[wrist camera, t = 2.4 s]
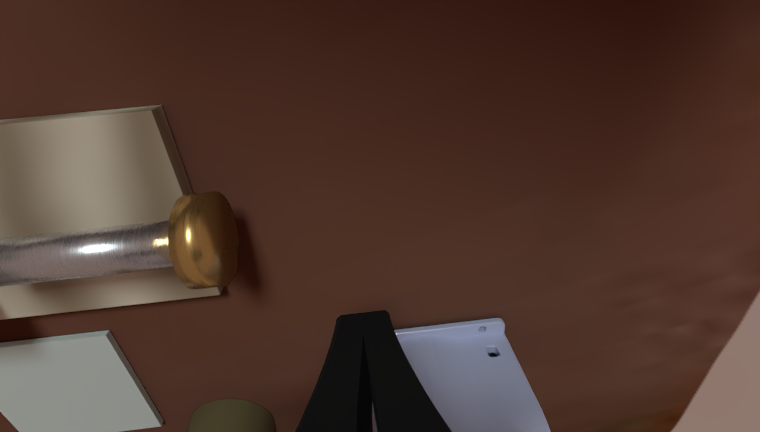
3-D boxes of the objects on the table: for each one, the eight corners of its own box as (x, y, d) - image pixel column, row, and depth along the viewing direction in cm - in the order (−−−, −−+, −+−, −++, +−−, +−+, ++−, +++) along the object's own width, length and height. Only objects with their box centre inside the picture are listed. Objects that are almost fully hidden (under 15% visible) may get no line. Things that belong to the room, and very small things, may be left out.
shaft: (222, 176, 17) (190, 221, 13) (244, 250, 19) (222, 306, 15) (-40, 202, 16) (-144, 256, 13) (12, 275, 18) (-66, 339, 15)
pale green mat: (109, 330, 22) (105, 335, 22) (163, 420, 27) (161, 426, 26) (-48, 348, 22) (-55, 353, 22) (33, 437, 26) (29, 442, 26)
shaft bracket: (161, 104, 16) (86, 145, 12) (225, 283, 21) (191, 363, 17) (-175, 136, 16) (-398, 192, 11) (-30, 311, 21) (-142, 403, 16)
